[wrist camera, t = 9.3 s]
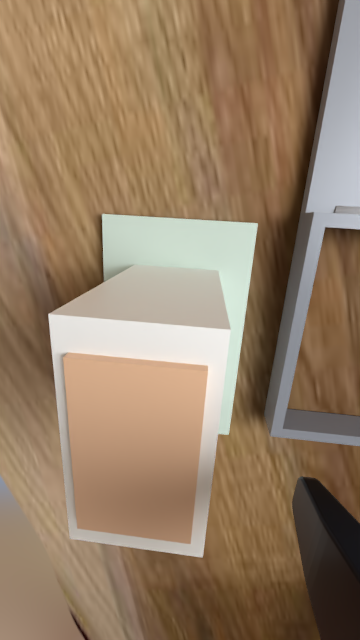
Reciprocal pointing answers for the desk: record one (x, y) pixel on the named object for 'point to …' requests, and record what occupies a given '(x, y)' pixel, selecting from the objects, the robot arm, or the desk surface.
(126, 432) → the module
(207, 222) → the sage mat
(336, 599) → the robot arm
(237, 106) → the desk surface
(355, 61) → the grey holder tray
